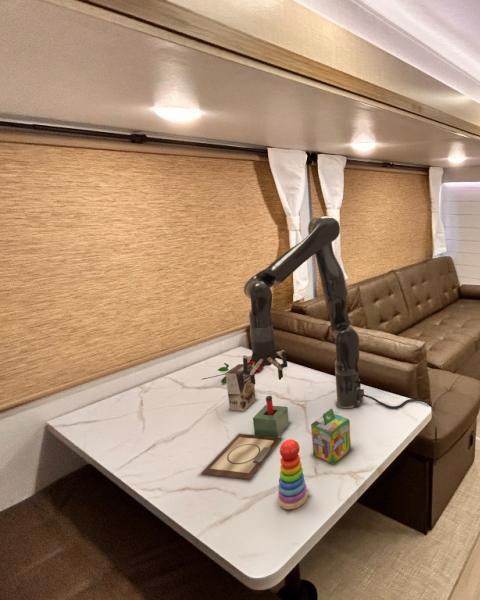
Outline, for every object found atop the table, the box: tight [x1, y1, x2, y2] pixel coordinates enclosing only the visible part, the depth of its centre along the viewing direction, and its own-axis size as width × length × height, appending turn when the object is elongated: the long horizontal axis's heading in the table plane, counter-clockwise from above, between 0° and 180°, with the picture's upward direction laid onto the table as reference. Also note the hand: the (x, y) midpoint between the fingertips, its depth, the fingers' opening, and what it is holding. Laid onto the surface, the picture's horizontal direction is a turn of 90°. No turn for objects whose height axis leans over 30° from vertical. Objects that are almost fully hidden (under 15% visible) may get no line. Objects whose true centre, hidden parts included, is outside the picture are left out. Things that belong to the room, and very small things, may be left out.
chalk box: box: [310, 408, 352, 465], centre depth 121 cm, size 9×9×15 cm
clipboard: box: [201, 433, 282, 481], centre depth 122 cm, size 16×20×1 cm
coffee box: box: [224, 363, 257, 412], centre depth 150 cm, size 9×6×16 cm
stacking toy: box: [277, 438, 309, 510], centre depth 101 cm, size 8×8×19 cm
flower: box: [201, 359, 263, 384], centre depth 175 cm, size 9×10×30 cm
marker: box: [265, 395, 274, 416], centre depth 134 cm, size 2×2×13 cm
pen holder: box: [252, 404, 290, 438], centre depth 135 cm, size 9×9×7 cm
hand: (267, 381), depth 131 cm, fingers open, 8 cm apart
